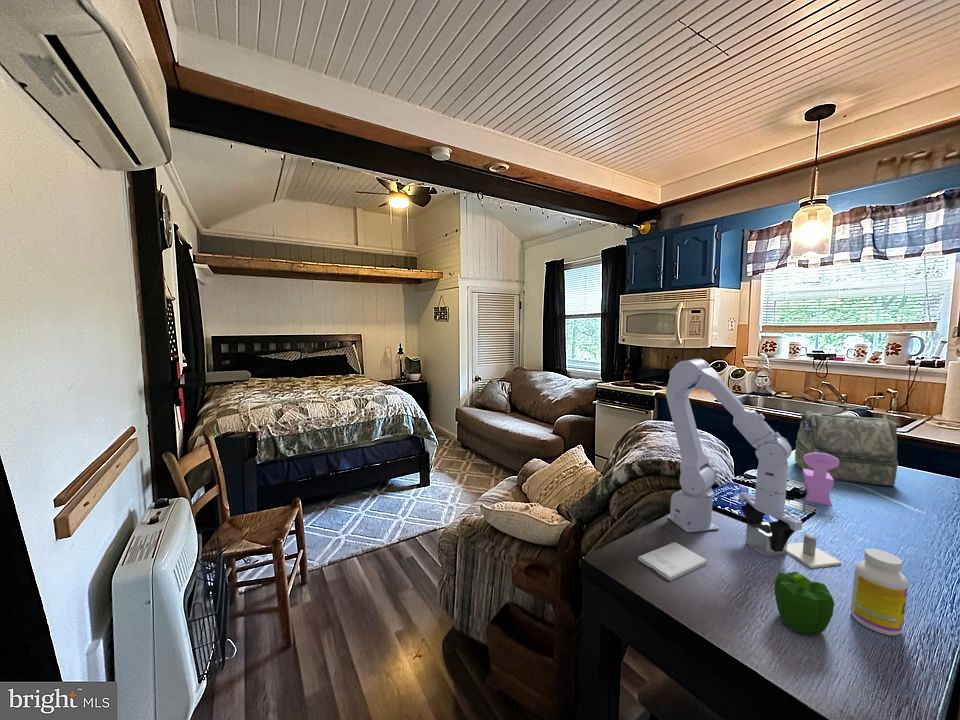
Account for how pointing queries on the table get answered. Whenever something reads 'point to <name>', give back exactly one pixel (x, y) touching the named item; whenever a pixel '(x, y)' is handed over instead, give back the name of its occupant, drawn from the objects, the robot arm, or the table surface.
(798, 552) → the peg base
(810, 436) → the lunch bag
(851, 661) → the table surface
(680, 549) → the external hard drive
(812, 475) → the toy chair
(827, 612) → the bell pepper
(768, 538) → the white storage bin
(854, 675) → the table surface
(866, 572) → the supplement bottle
